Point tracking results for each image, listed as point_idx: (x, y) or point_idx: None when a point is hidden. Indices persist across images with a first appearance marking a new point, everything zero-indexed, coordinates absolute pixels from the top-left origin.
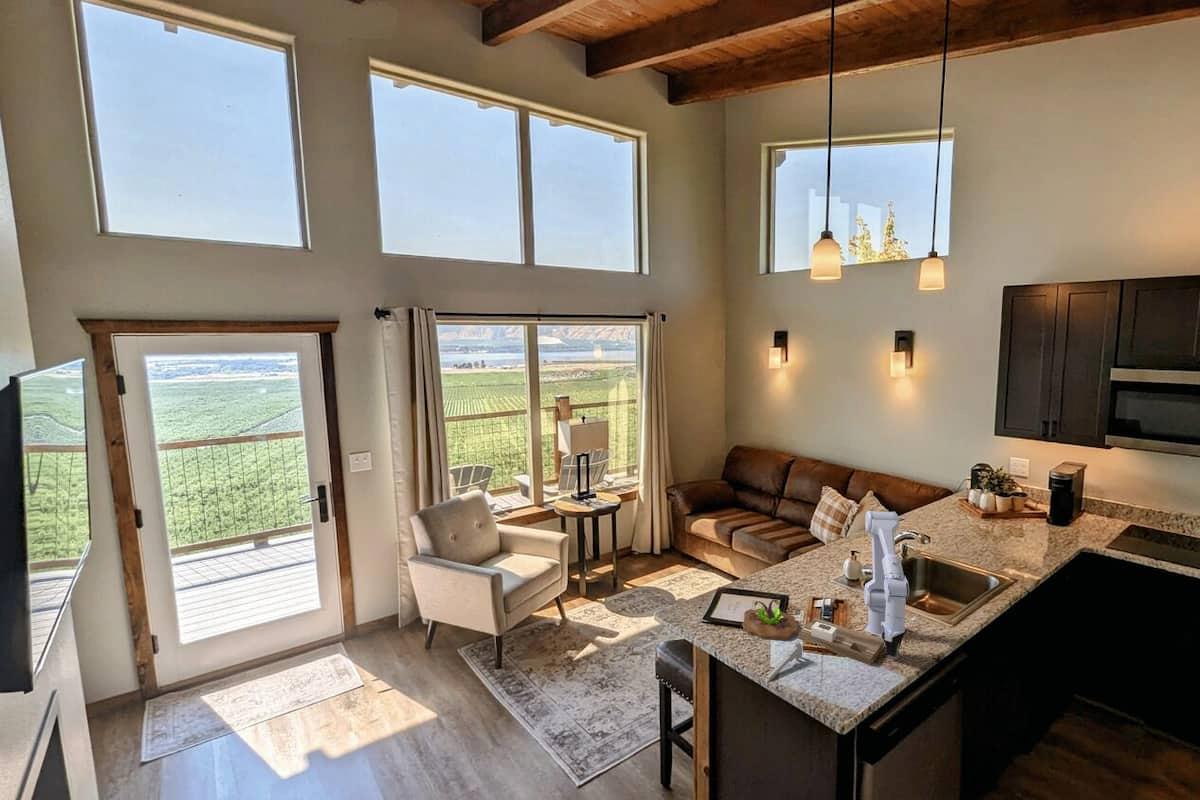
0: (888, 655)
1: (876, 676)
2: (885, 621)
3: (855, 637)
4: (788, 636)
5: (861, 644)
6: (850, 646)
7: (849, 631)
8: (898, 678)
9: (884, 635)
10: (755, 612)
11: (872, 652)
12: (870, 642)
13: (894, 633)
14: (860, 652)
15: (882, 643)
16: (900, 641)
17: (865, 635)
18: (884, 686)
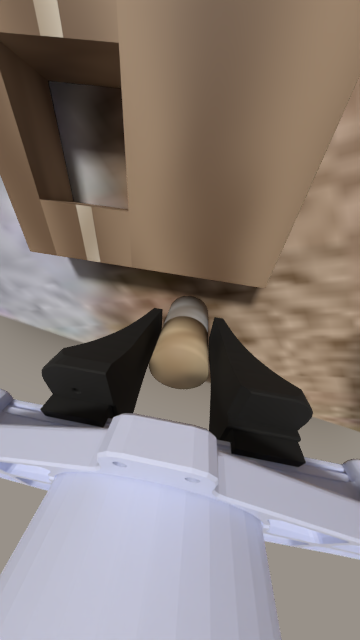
0: (176, 302)
1: (23, 277)
2: (15, 626)
3: (232, 6)
4: None
5: (133, 143)
6: (21, 29)
7: None
8: (76, 332)
9: (55, 380)
10: None
11: (92, 248)
12: (201, 210)
13: (21, 483)
14: (29, 172)
15: (229, 281)
16: (212, 380)
17: (313, 130)
18: (3, 304)
